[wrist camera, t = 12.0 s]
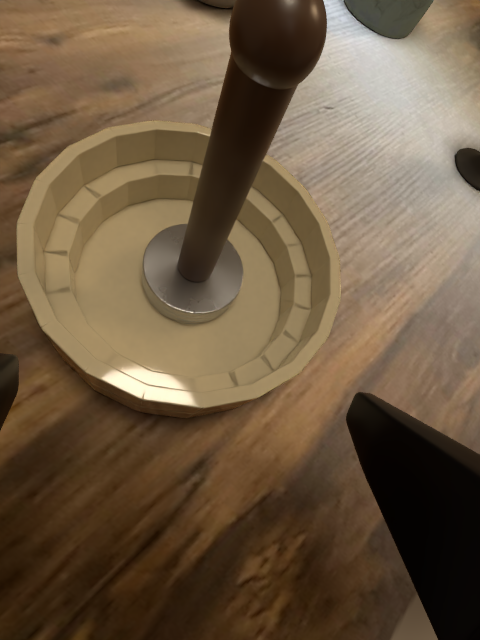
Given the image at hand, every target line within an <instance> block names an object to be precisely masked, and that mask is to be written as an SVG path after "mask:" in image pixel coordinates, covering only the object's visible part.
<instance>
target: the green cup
mask: <svg viewBox="0 0 480 640" xmlns="http://www.w3.org/2000/svg"><path fill="white" fill-rule="evenodd" d="M344 1H345V3H346V6H347V7H348V9H349V10H350V11H351V12H352V13H353V15H354V16H355V17H356V18H357V19H358V20H360V21H361V22H362V23H363V24H364V25H366V26H367V27H369V28H370V29H372V30H374V31H375V32H377V33H379V34H381V35H384V36H387V37H391V38H404V37H406V36H407V35H408V34H409V33H410V32H411V31H412V30H413V29H414V28H415V26H416V25H417V23H418V22H419V21H420V19H421V18H422V17H423V15H424V14H425V12H426V11H427V10H428V8H429V7H430V5H431V4H432V2H433V0H344Z"/></svg>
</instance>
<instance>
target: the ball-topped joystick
mask: <svg viewBox="0 0 480 640" xmlns="http://www.w3.org/2000/svg"><path fill="white" fill-rule="evenodd" d="M326 30H327V18H326V10H325V5H324V2H323V0H236V2H235V4H234V7H233V10H232V14H231V19H230V27H229V40H230V47H231V55H230V59H229V63H228V67H227V71H226V75H225V79H224V83H223V87H222V91H221V95H220V98H219V102H218V106H217V110H216V114H215V118H214V122H213V126H212V130H211V134H210V138H209V142H208V146H207V150H206V154H205V158H204V161H203V165H202V169H201V173H200V177H199V181H198V185H197V189H196V193H195V197H194V201H193V205H192V209H191V213H190V217H189V220H188V224H179V225H174V226H171V227H168V228H166V229H164V230H162V231H160V232H159V233H158V234H157V235H155V236H154V237H153V238H152V239H151V241H150V242H149V244H148V245H147V247H146V249H145V252H144V255H143V263H142V286H143V290H144V293H145V295H146V297H147V299H148V300H149V302H150V303H151V305H152V306H153V307H154V308H155V309H156V310H157V311H158V312H159V313H161V314H162V315H164V316H165V317H167V318H169V319H171V320H173V321H176V322H179V323H183V324H203V323H207V322H210V321H212V320H215V319H216V318H218V317H220V316H221V315H222V314H224V313H225V312H226V310H227V309H228V308H229V307H230V305H231V304H232V302H233V301H234V299H235V298H236V296H237V295H238V293H239V291H240V289H241V287H242V283H243V274H244V272H243V265H242V261H241V258H240V256H239V254H238V252H237V250H236V249H235V247H234V246H233V245H232V244H231V243H230V241H229V240H227V239H228V237H229V234H230V232H231V230H232V228H233V226H234V223H235V221H236V219H237V217H238V215H239V213H240V210H241V208H242V206H243V204H244V202H245V199H246V197H247V195H248V193H249V191H250V188H251V186H252V184H253V182H254V180H255V178H256V175H257V173H258V171H259V169H260V167H261V164H262V162H263V160H264V158H265V156H266V153H267V151H268V149H269V147H270V145H271V142H272V140H273V138H274V136H275V134H276V132H277V129H278V127H279V125H280V123H281V121H282V118H283V116H284V114H285V112H286V110H287V107H288V105H289V103H290V101H291V99H292V96H293V94H294V92H295V90H296V88H297V86H298V84H299V83H300V82H302V81H303V80H304V79H305V78H306V77H307V76H308V75H309V74H310V73H311V71H312V70H313V69H314V67H315V65H316V64H317V62H318V60H319V58H320V56H321V53H322V50H323V47H324V43H325V39H326Z"/></svg>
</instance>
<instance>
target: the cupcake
mask: <svg viewBox="0 0 480 640" xmlns="http://www.w3.org/2000/svg"><path fill="white" fill-rule="evenodd" d="M199 1H201V2H204V3H206V4H208V5H212V6H216V7H221V8H231V7H234V4H235V2H236V0H199Z"/></svg>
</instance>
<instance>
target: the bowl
mask: <svg viewBox="0 0 480 640" xmlns="http://www.w3.org/2000/svg"><path fill="white" fill-rule="evenodd" d="M211 130H212V129H210V128H207V127H204V126H201V125H197V124H191V123H180V122H169V121H158V120H153V121H152V120H151V121H145V122H139V123H132V124H126V125H120V126H114V127H109V128H106V129H104V130H102V131H100V132H97V133H95V134H93V135H91V136H89V137H87V138H85V139H83V140H81V141H79V142H76V143H74V144H72V145H70V146H69V147H67V148H66V149H65V150H64V151H63V152H62V153H61V154H60V155H58V156H57V157H56V158H55V159H54V160H53V161H52V162H51V163H50V164H49V165H48V166H47V167H46V168H45V169H44V170H43V171H42V172H41V173H40V174H39V175H38V176H37V177H36V179H35V180H34V183H33V185H32V188H31V190H30V192H29V195H28V197H27V199H26V202H25V204H24V207H23V209H22V211H21V214H20V216H19V218H18V221H17V225H16V239H17V275H18V279H19V281H20V283H21V286H22V288H23V290H24V292H25V294H26V297H27V299H28V301H29V303H30V306H31V308H32V310H33V312H34V315H35V317H36V319H37V321H38V324H39V326H40V328H41V329H42V330H43V332H44V333H45V335H46V336H47V338H48V339H49V340H50V342H51V343H52V345H53V346H54V348H55V349H56V351H57V352H58V353H59V355H60V356H61V357H62V358H63V359H64V360H65V361H66V362H67V363H68V364H69V365H70V366H71V367H72V368H73V369H74V370H75V371H76V372H77V373H78V374H79V375H80V376H81V377H82V378H83V379H84V381H85V382H86V383H87V384H88V385H89V386H90V387H91V388H92V389H95V391H97V392H99V393H101V394H103V395H105V396H107V397H109V398H111V399H113V400H115V401H117V402H119V403H122V404H124V405H126V406H128V407H130V408H132V409H134V410H136V411H139V412H143V413H150V414H158V415H166V416H173V417H181V418H191V417H196V416H201V415H207V414H212V413H217V412H222V411H227V410H231V409H234V408H236V407H238V406H241V405H243V404H245V403H247V402H250V401H252V400H254V399H257V398H259V397H260V396H262V395H264V394H266V393H267V392H269V391H271V390H272V389H274V388H276V387H277V386H279V385H281V384H283V383H284V382H286V381H288V380H289V379H291V378H293V377H294V376H296V375H298V374H299V373H300V372H301V371H302V370H303V369H304V368H305V366H306V365H307V364H308V363H309V361H310V360H311V359H312V358H313V356H314V355H315V354H316V353H317V351H318V350H319V349H320V348H321V346H322V345H323V344H324V343H325V341H326V340H327V338H328V337H329V334H330V331H331V327H332V324H333V321H334V318H335V315H336V312H337V309H338V306H339V303H340V298H341V289H340V260H339V259H340V258H339V255H338V252H337V249H336V246H335V243H334V240H333V237H332V234H331V231H330V228H329V224H328V222H327V220H326V218H325V217H324V215H323V214H322V212H321V211H320V209H319V208H318V206H317V205H316V203H315V202H314V200H313V199H312V197H311V196H310V194H309V193H308V191H307V189H306V188H305V187H304V186H303V185H302V184H301V183H300V182H299V181H298V180H296V179H295V178H294V177H293V176H292V175H291V174H290V173H289V172H288V171H287V170H286V169H285V168H284V167H283V166H282V165H281V164H279V163H278V162H277V161H276V160H275V159H273V158H272V157H270V156H268V155H267V154H266V156H265V158H264V160H263V162H262V164H261V167H260V169H259V171H258V173H257V175H256V178H255V180H254V182H253V184H252V186H251V188H250V191H249V193H248V195H247V197H246V199H245V202H244V204H243V206H242V208H241V210H240V213H239V215H238V217H237V219H236V221H235V223H234V226H233V228H232V230H231V232H230V234H229V237H228V239H227V240H229V241H230V243H231V244H232V245H233V246H234V247H235V249H236V250H237V252H238V254H239V256H240V258H241V261H242V265H243V272H244V274H243V283H242V287H241V289H240V291H239V293H238V295H237V296H236V298H235V299H234V301H233V302H232V304H231V305H230V307H229V308H228V309H227V310H226V312H225V313H224V314H222V315H221V316H220V317H218V318H216V319H215V320H212V321H210V322H207V323H203V324H183V323H179V322H176V321H173V320H171V319H169V318H167V317H165V316H164V315H162V314H161V313H159V312H158V311H157V310H156V309H155V308H154V307H153V306H152V305H151V303H150V302H149V300H148V299H147V297H146V295H145V293H144V290H143V286H142V263H143V255H144V252H145V249H146V247H147V245H148V244H149V242H150V241H151V239H152V238H153V237H154V236H155V235H157V234H158V233H159V232H160V231H162V230H164V229H166V228H168V227H171V226H174V225H179V224H188V220H189V217H190V213H191V209H192V205H193V201H194V197H195V193H196V189H197V185H198V181H199V177H200V173H201V169H202V165H203V161H204V158H205V154H206V150H207V146H208V142H209V138H210V134H211Z"/></svg>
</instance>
